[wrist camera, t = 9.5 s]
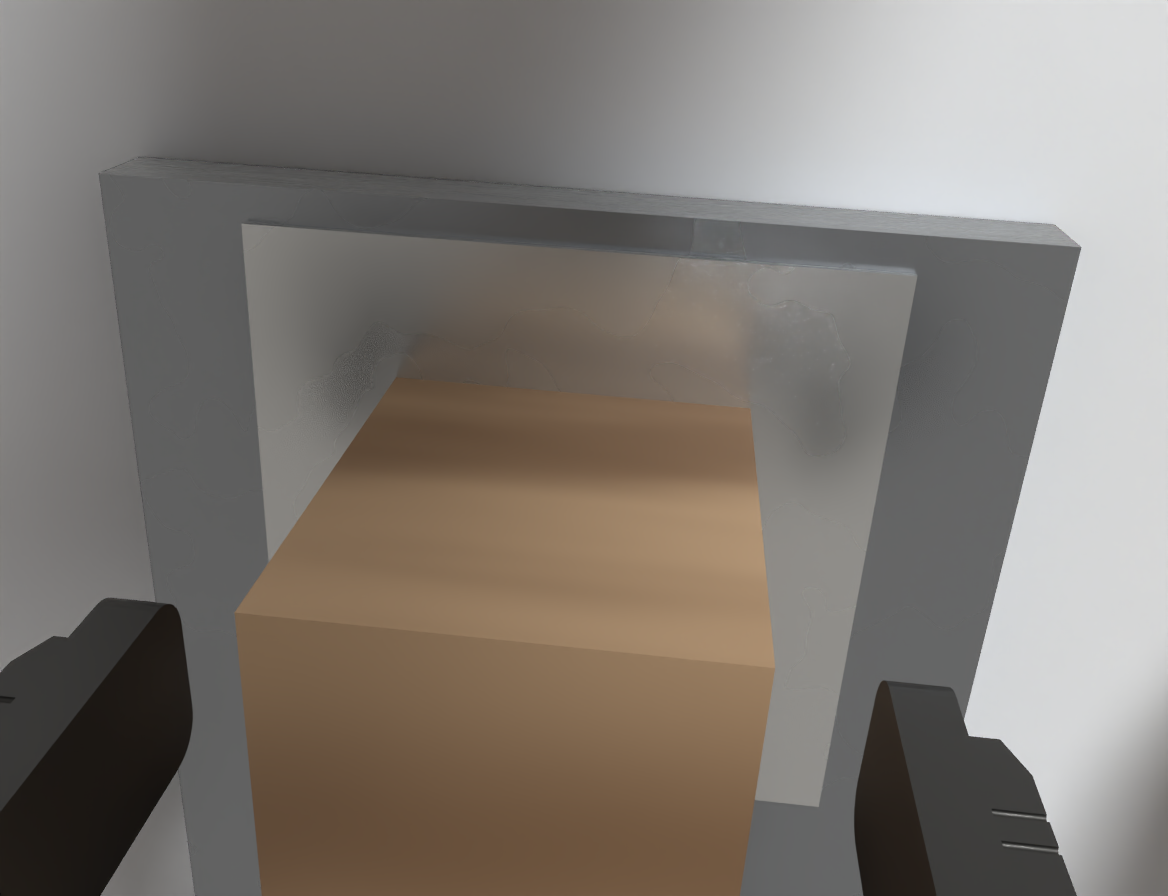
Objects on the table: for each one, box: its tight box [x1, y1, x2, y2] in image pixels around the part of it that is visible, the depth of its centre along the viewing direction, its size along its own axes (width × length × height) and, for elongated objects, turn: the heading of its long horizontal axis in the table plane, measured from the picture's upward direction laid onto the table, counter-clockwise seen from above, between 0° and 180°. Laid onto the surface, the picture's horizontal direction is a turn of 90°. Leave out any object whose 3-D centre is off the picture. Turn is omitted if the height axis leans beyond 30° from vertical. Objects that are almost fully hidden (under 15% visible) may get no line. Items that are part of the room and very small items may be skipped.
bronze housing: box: [234, 377, 775, 896], centre depth 14 cm, size 5×5×6 cm
